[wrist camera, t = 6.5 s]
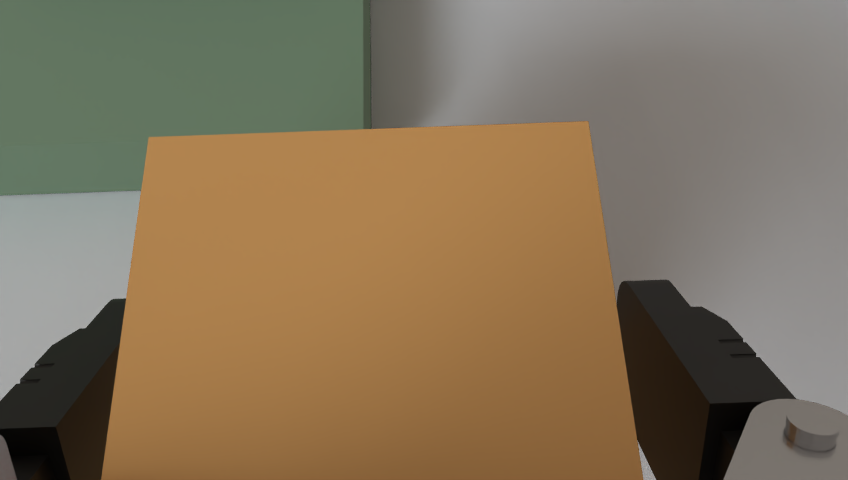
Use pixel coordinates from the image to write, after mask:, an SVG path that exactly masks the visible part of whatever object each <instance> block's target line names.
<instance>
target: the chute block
mask: <svg viewBox="0 0 848 480" xmlns="http://www.w3.org/2000/svg"><path fill="white" fill-rule="evenodd" d="M101 480H643V474H642V468H641V461H640V455H639V448H638V442H637V435H636V429H635V422H634V416H633V409H632V403H631V396H630V390H629V383H628V377H627V370H626V364H625V357H624V351H623V344H622V338H621V331H620V324H619V318H618V311H617V305H616V298H615V292H614V285H613V279H612V272H611V266H610V259H609V253H608V246H607V240H606V233H605V227H604V220H603V214H602V207H601V201H600V194H599V188H598V181H597V174H596V168H595V161H594V155H593V148H592V142H591V135H590V129H589V122H588V121H579V122H552V123H524V124H496V125H469V126H441V127H413V128H386V129H358V130H331V131H303V132H275V133H248V134H220V135H192V136H165V137H149V138H148V145H147V152H146V160H145V167H144V174H143V181H142V188H141V196H140V203H139V210H138V217H137V225H136V232H135V239H134V246H133V253H132V261H131V268H130V275H129V282H128V289H127V297H126V304H125V311H124V318H123V325H122V333H121V340H120V347H119V354H118V361H117V369H116V376H115V383H114V390H113V397H112V405H111V412H110V419H109V426H108V433H107V441H106V448H105V455H104V462H103V469H102V477H101Z"/></svg>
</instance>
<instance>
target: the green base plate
mask: <svg viewBox="0 0 848 480" xmlns="http://www.w3.org/2000/svg"><path fill="white" fill-rule="evenodd" d="M358 129H371V45H370V0H0V195H23V194H51V193H79V192H107V191H135V190H141V188H142V181H143V174H144V167H145V160H146V152H147V145H148V138H149V137H165V136H192V135H220V134H248V133H275V132H303V131H331V130H358Z"/></svg>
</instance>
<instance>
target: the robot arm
mask: <svg viewBox="0 0 848 480" xmlns="http://www.w3.org/2000/svg"><path fill="white" fill-rule="evenodd" d="M125 304H126V299H113V300H111V301H110V302H108V304H107V305H106V306H105V307H104V308H103V309H102V310H101V312H100V313H99V314H98V315H97V316H96V317H95V318H94V319H93V321H92V322H91V323H90V324H89V325H88V326H87V327H86V328H85V329H78V330H77V331H75V332H73V333H72V334H70V335H68V336H67V337H65V338H64V339H62V340H60V341H59V342H57V343H55V344H54V345H52V346H51V347H50V348H49V349H48V350H47V351H46V353H45V354H44V355H43V356H42V357H41V358H40V359H39V360H38V361H37V362H36V363H35V368H31V369H30V370H29V371H28V372H27V373H26V374H25V375H24V376H23V377H22V378H21V379H20V384H16V385H15V386H14V387H13V388H12V389H11V390H10V391H9V392H8V393H7V394H6V396H5V397H4V398H3V399H2V400H1V401H0V480H101V477H102V469H103V462H104V455H105V448H106V441H107V433H108V426H109V419H110V412H111V405H112V397H113V390H114V383H115V376H116V369H117V361H118V354H119V347H120V340H121V333H122V325H123V318H124V311H125ZM617 311H618V318H619V324H620V331H621V338H622V344H623V351H624V357H625V364H626V370H627V377H628V383H629V390H630V396H631V403H632V409H633V416H634V422H635V429H636V435H637V440H638V442H639V444H640V447H641V449H642V451H643V453H644V455H645V457H646V459H647V461H648V463H649V465H650V467H651V470H652V472H653V474H654V476H655V478H656V480H848V416H847V415H845V414H843V413H842V412H840V411H837V410H835V409H833V408H830V407H827V406H824V405H821V404H818V403H814V402H810V401H804V400H798V399H796V398H795V397H794V396H793V395H792V394H791V392H790V391H789V390H788V389H787V388H786V387H785V386H784V385H783V383H782V382H781V381H780V380H779V379H778V378H777V377H776V376H775V374H774V373H773V372H772V371H771V370H770V369H769V368H768V366H767V365H766V364H765V363H764V362H763V361H762V360H761V359H760V357H756V353H755V352H754V351H753V350H752V348H751V347H750V346H749V345H748V344H747V343H746V342H743V338H742V337H741V336H740V335H739V334H738V333H737V332H736V330H735V329H734V328H733V327H732V326H731V325H730V324H729V323H728V321H726V320H724V319H722V318H721V317H719V316H717V315H715V314H714V313H712V312H710V311H708V310H707V309H705V308H703V307H690V305H689V304H688V303H687V302H686V300H685V299H684V298H683V297H682V296H681V294H680V293H679V292H678V291H677V289H676V288H675V287H674V286H673V285H672V283H671V282H670V281H669V280H644V281H623V282H622V283H621V284H620V287H619V290H618V297H617Z"/></svg>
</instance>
